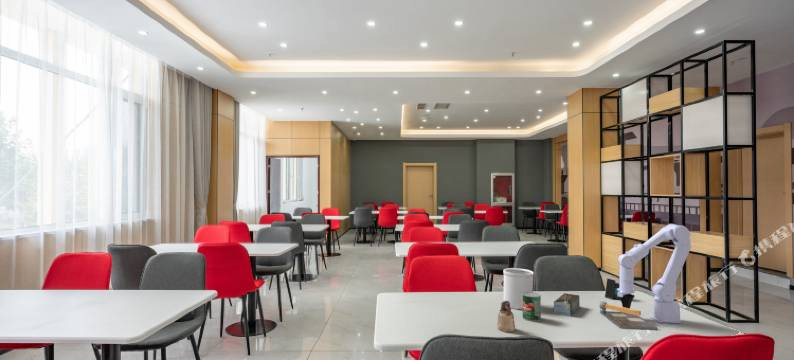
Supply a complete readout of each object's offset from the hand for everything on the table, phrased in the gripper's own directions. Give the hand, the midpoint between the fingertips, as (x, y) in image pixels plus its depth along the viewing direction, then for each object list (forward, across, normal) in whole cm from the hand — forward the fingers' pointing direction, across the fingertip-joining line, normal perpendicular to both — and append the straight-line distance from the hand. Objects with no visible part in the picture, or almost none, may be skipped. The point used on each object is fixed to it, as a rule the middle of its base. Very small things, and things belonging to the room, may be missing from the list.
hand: (626, 310), depth 187 cm
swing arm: (+1, +3, -2) cm, 4 cm away
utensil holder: (+4, +24, -42) cm, 48 cm away
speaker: (+4, -31, -18) cm, 36 cm away
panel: (+3, +5, +2) cm, 6 cm away
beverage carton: (+4, +11, -23) cm, 26 cm away
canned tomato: (+4, +37, -26) cm, 45 cm away
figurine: (+4, +58, -24) cm, 63 cm away
